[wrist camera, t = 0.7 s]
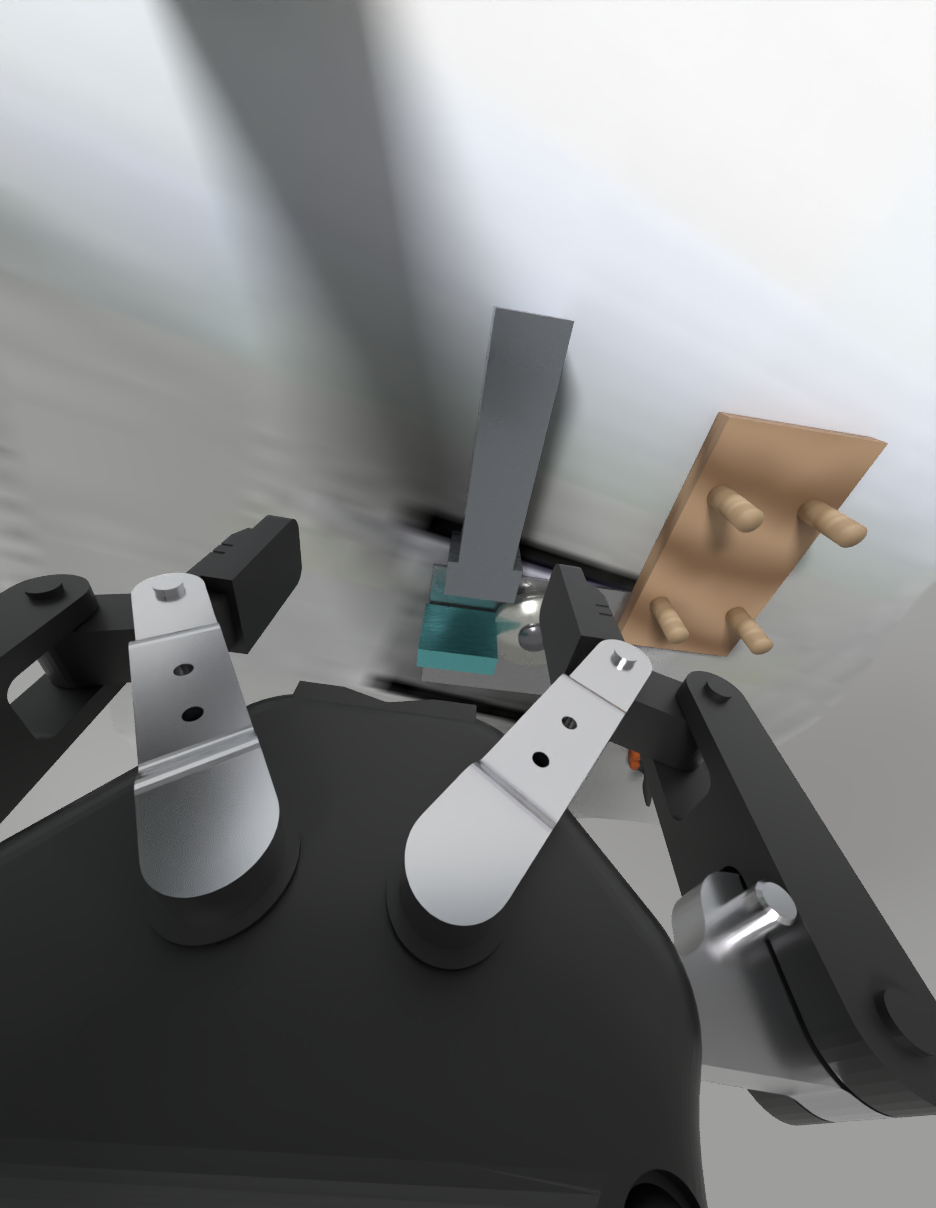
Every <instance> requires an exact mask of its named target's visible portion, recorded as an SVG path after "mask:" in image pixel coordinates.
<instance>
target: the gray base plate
mask: <svg viewBox="0 0 936 1208" xmlns="http://www.w3.org/2000/svg"><path fill="white" fill-rule="evenodd" d="M446 574H447V566H445V565H437V564H434V565H433V574H432V584H431V593H430V603H429V604H433V605H441V606H448V607H456V608H464V609H472V610H479V611H487V612H495V611H496V610H497V608H498V607H499V606H500V605H501V604H502V603H504V602H498V601H490V600H483V599H475V598H468V597H460V596H453V595H445V594H444V590H445V582H446ZM548 583H549V580H548V579H540V578H533V577H526V576H521V580H520V583H519V587H518V591H517V595H519V594H522V593H527V592H546V589H547V586H548ZM595 587H596V588H597V589H598V590H599V591H600V592H601V593H602V594H603V595H604V596H605V598H606V600H607V602H608V605H609V608H610V609H611V611H612V614H613V617H614V618H615V620H616V623H617V625H618V623H619V621H620V619H621V617H622V615H623V613H624V611H625V609H626V607H627V605H628V603H629V600H630V598H631V596H632V594H633V592H632V591H629V590H622V589H614V588H607V587H599V586H595ZM422 681H426V682H435V683H443V684H452V685H460V686H469V687H477V688H486V689H494V690H503V691H511V692H520V693H528V694H537V695H543V694H544V693H545V692H546V691H547V690H548V689H549V687H550V686H551V683H550V677H549V672H548V667H547V664H544V665H537V666H526V665H519V664H516V663H513V662H510V661H508V660H506V659H505V658H503V657H502V656H501V655H500V654H499V653H498V660H497V664H496V668H495V671H494V675H486V674H478V673H470V672H461V671H453V670H445V669H436V668H428V667H423V672H422Z"/></svg>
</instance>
